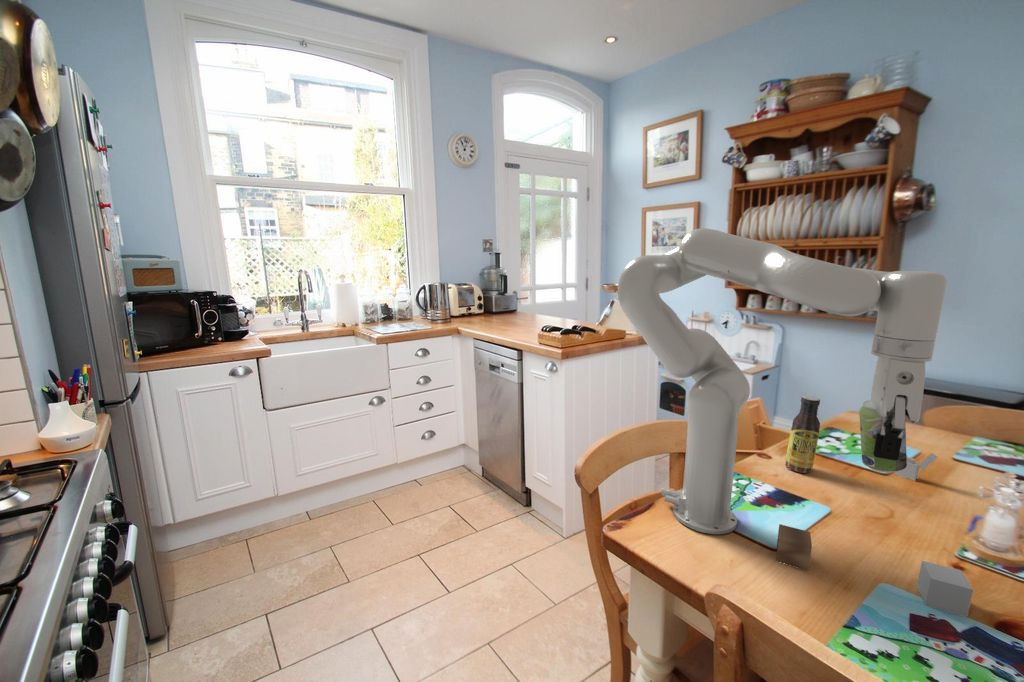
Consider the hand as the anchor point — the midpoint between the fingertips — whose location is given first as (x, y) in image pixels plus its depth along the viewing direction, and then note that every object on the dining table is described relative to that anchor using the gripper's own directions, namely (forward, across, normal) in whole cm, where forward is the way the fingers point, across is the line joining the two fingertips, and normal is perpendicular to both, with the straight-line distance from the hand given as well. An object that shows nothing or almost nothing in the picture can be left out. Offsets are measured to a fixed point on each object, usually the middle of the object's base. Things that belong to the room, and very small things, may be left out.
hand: (882, 452), depth 76 cm
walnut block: (+23, -2, +11) cm, 26 cm away
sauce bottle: (+23, +41, +8) cm, 48 cm away
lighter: (+23, +49, -17) cm, 57 cm away
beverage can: (+4, +2, 0) cm, 4 cm away
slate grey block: (+23, -2, -10) cm, 25 cm away
